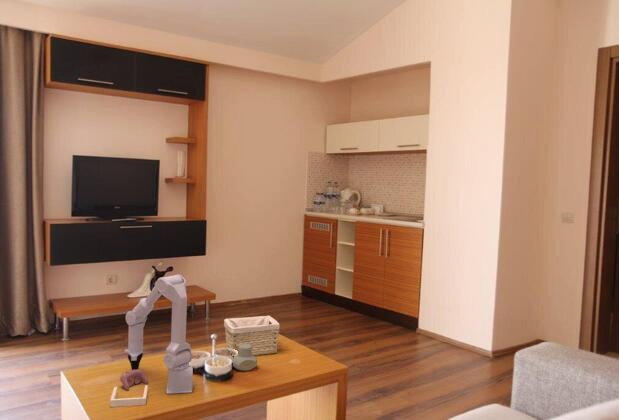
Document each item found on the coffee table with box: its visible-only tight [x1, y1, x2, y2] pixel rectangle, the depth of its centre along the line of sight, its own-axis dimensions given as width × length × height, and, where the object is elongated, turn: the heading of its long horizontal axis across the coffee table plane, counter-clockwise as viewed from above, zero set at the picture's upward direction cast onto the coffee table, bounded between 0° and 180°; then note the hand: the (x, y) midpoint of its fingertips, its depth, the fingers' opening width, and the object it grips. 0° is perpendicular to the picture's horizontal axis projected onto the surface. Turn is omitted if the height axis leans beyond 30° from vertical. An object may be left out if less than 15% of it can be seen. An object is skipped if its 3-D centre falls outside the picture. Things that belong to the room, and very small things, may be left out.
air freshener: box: [231, 344, 258, 372], centre depth 227 cm, size 11×8×10 cm
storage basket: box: [223, 315, 281, 356], centre depth 250 cm, size 24×16×15 cm
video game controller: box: [119, 368, 149, 391], centre depth 205 cm, size 10×5×7 cm, turn 141°
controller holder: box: [109, 384, 149, 408], centre depth 192 cm, size 12×12×2 cm
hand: (135, 371), depth 215 cm, fingers closed
